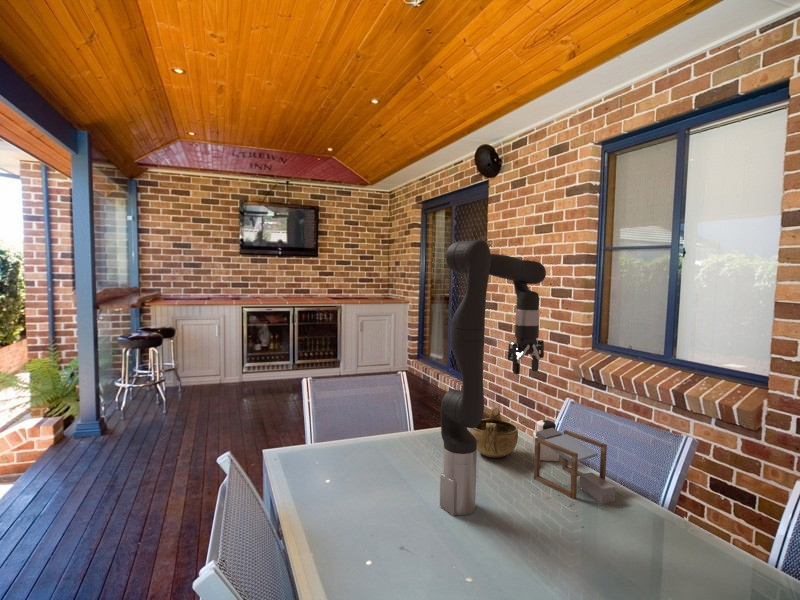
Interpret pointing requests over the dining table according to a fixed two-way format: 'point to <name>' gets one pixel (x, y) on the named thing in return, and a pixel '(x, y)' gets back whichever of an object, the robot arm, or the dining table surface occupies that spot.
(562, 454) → the trapdoor
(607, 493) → the stone
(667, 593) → the dining table surface
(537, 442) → the frame
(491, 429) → the ceramic bowl
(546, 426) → the container
